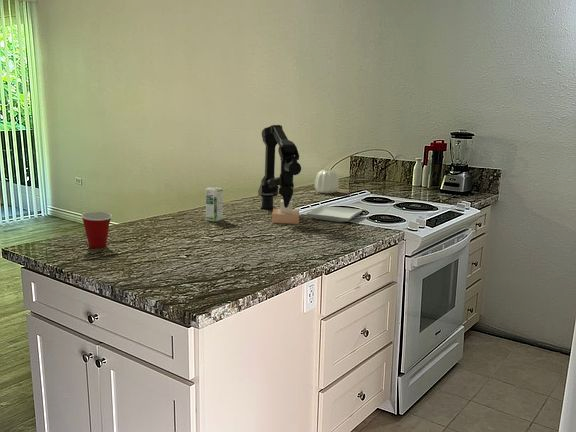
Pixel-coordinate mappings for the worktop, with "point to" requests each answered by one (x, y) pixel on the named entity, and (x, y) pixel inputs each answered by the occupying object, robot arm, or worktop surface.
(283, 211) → the block
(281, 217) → the stand
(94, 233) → the plastic cup
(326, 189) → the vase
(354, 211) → the salad plate
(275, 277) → the worktop surface
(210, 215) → the syrup box
